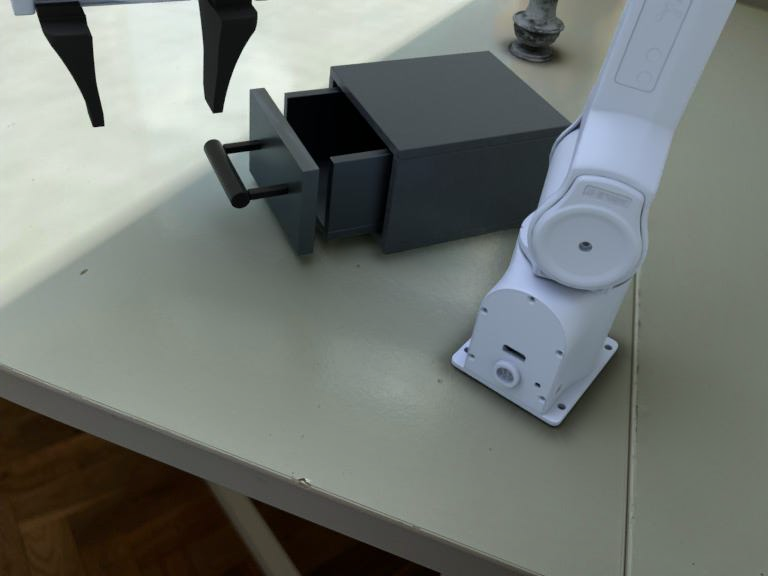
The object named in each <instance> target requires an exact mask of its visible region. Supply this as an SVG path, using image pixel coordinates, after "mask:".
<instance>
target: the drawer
mask: <svg viewBox="0 0 768 576" xmlns="http://www.w3.org/2000/svg"><path fill="white" fill-rule="evenodd" d="M283 95H284V96H283V97H284V98H283V112H282V111H281V109H279V107H278V105H277V104H276V102H275V100H274V99H273V98H272V96H271V95H270V93H269V92H268V90H267V89H266V87H256V88H249V99H248V101H249V102H248V103H249V104H248V105H249V109H248V111H249V114H248V115H249V116H248V117H249V119H248V120H249V122H248V123H249V127H248V129H249V131H248V133H249V137H248V139H249V140H244V141H235V142H229V143H223V144H222V142H221V141H220V140H219V139H216V138H213V139H212V138H211V139H209V140H207V141H206V142H205V143H204V145H203V152H204V154H205V156H206V158H207V160H208V162H209V164H210V166H211V168H212V169H213V171H214V173H215V175H216V177H217V179H218V181H219V183H220V185H221V188H222V189H223V191H224V193H225V195H226V197H227V199H228V201H229V203H230V205H231V206H232V207H233V208H235V209H237V210H239V209H244V208H246V207H247V206H248V205H249V204H250V202H251V201H255V200H260V199H261V200H262V199H264V200H265V201H266V203H267V205H268V206H269V208H270V210H271V212H272V214H273V215H274V217H275V219H276V221H277V223H278V224H279V226H280V228H281V229H282V231H283V233H284V234H285V237H286V238H287V240H288V241H289V243H290V245H291V246H292V249H293V251H294V253H295V255H296V256H297V257H303V256H308V255H313V254H314V249H315V237H316V236H315V233H316V226H317V228H318V229H319V231H320V232H321V234H322V236H323V237H324V239H325V240H326V242H330V241H335V240H341V239H347V238H351V237H357V236H363V235H368V234H370V233H373V232H378V231H383V225H384V218H385V211H386V204H387V197H388V190H389V183H390V177H391V170H392V163H393V156H394V154H393V153H392V152H391V151H390V149H389V148H388V147H387V146H386V144H385V143H384V142H383V141H382V139H381V138H380V137H379V136H378V134H377V133H376V132H375V131H374V129H373V128H372V127H371V126H370V124H369V123H368V122H367V121H366V119H365V118H364V117H363V116H362V115H361V113H360V112H359V111H358V110H357V108H356V107H355V106H354V105H353V103H352V102H351V101H350V100H349V98H348V97H347V96H346V95H345V93H344V92H343V91H342V90H341V88H340V87H332V88H329V87H325V88H323V87H322V88H315V89H306V90H297V91H288V92H284V93H283ZM246 152H248V155H249V156H248V157H249V159H248V161H249V163H248V171H249V173H250V175H251V176H252V178H253V180H254V181H255V184H256V185H257V187H253V188H248V189H247V188H246V185H245V184H244V182H243V180H242V179H241V177H240V175H239V173H238V171H237V169H236V167H235V165H234V164H233V162H232V160H231V158H230V156H229V155H231V154H240V153H246Z"/></svg>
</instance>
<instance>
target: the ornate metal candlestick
mask: <svg viewBox="0 0 768 576" xmlns="http://www.w3.org/2000/svg"><path fill="white" fill-rule="evenodd" d="M558 4H559V0H529V1H528V3H527V6H526V8H525V9H523V10H518V11H516V12H514V13H513V15H512V21H513V32H514V35H515V37H516V40H513V41H512V42H510V43H508V45H507V49H508V51H509V52H510V53H511V54H512V55H513V56H515V57H516V58H519V59H521V60H524V61H527V62H533V63H534V62H535V63H544V62H545V63H547V62H549V61H551V60H553V59H554V56H555V53H554V51H553V49H552V48H551V47H550V46H551V45H552V44H554V43H555V42H556V41H557V39H558V38H559V37H560V34H561V32H563V31H564V30H565V28H566V26H565V22H564V21H563V20H562V19H560V18H559V17H557V7H558Z"/></svg>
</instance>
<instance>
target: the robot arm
mask: <svg viewBox="0 0 768 576" xmlns="http://www.w3.org/2000/svg"><path fill="white" fill-rule="evenodd" d="M187 1H190V0H10V4H11V8H12V11H13V15H14V16H15V17H21V16H33V15H35V14H36V16H37V20H38V22H39V25H40V29H41V32H42V34H43V36H44V37H45V39H46V40H47V42H48V44H49V45H50V47H51V48H52V49H53V51H54V52H55V53H56V54H57V56H58V57H59V59H60V60H61V61H62V63H63V65H64V66H65V68H66V69H67V71H68V72H69V74H70V75H71V77H72V79H73V81H74V82H75V84H76V86H77V88H78V89H79V91H80V94H81V96H82V98H83V100H84V103H85V107H86V112H87V115H88V117H89V120H90V121H89V122H90V123H91V127H92V128H102V127H105V125H106V124H105V114H104V110H103V106H102V101H101V97H100V92H99V88H98V82H97V75H96V64H95V53H94V37H93V34H92V32H91V30H90V27H89V25H88V18H87V14H85V10H84V8H87V7H103V6H104V7H105V6H121V5H137V4H158V3H171V2H187ZM254 1H255V2H262V1H263V2H264V1H265V2H266V1H267V0H254ZM197 2H198V11H199V19H200V26H201V28H200V29H201V36H202V37H201V38H202V49H203V50H202V51H203V52H202V53H203V59H202V60H203V61H202V86H203V95H204V101H205V102H206V104H207V106H208V107H209V110H210V111H211V113H212V114H213V115H214V114H222V113H223V112H224V107H225V101H226V98H227V93H228V89H229V86H230V82H231V80H232V77H233V74H234V70H235V68H236V65H237V63H238V61H239V59H240V57H241V55H242V53H243V50H244V49H245V47H246V46H247V44H248V42H249V40H250V39H251V38H252V36H253V34H254V33H255V32H256V30H257V27H258V19H259V18H258V17H259V16H258V10H257V8H256V7H255V6H254V5H253V0H197ZM736 2H737V0H626V1H625V5H624V8H623V10H622V12H621V14H620V15H621V16H620V18H619V21H618V23H617V26H616V27H615V28H616V29H615V31H614V33H613V36H612V39H611V42H610V44H609V47H608V49H607V52H606V55H605V57H604V60H603V63H602V65H601V68H600V71H599V74H598V76H597V79H596V81H595V83H594V84H593V86H592V88H591V89H590V92H589V94H588V97H587V99H586V102H585V104H584V107H583V109H582V111H581V113H580V114H579V116H578V117H577V119H576V120H575V121H574V122H573V123H572V125H571V126H569V127H568V128H567V129H566V130H565V131H564V132H562V133H561V135H560V136H559V137H558V138H557V140H556V141H555V143H554V145H553V147H552V150H551V153H550V157H549V169H548V173H547V176H546V180H545V183H544V187H543V190H542V194H541V197H540V200H539V204H538V207H537V209H536V210H535V211H534V212H533V213H531V214H530V215H529V216H528V217H527V218H526V219H525V220H524V221H523V223H522V225H521V226H520V228H519V232H518V235H517V239H516V241H515V245H514V248H513V249H514V250H513V253H512V256H511V260H510V263H509V266H508V267H507V269H506V271H505V273H504V274H503V276H502V277H501V278H500V279H499V281H497V282H496V284H495V285H494V286H493V287H492V288H491V289H490V290H489V291H488V292H487V293H486V295H484V297H483V299H482V301H481V303H480V305H479V309H478V312H477V315H476V320H475V323H474V327H473V330H472V334H471V337H470V338H469V339H468V340H467V341H466V342H465V343H464V344H463V345H462V346H461V347H460V348H459V349H458V350H457V351H456V352H455V353H454V354H452V357H451V365H452V366H454V367H455V368H457V369H458V370H460V371H462V372H463V373H465V374H467V375H468V376H469V377H471V378H473V379H475V380H477V381H478V382H480V383H481V384H482V385H484V386H485V387H488V388H489V389H491V390H493V391H494V392H496V393H497V394H499V395H501V396H503V397H504V398H505V399H507V400H509V401H511V402H512V403H513V404H516V405H517V406H519V407H520V408H522V409H524V410H525V411H527V412H528V413H530V414H531V415H533V416H535V417H536V418H538V419H539V420H541V421H543V422H545V423H546V424H547V425H549V426H553V427H556V426H559V425H560V424H561V423H562V422H563V420H564V419H565V418H566V417H567V415H568V414H569V413H570V412H571V410H572V409H573V407H574V406H575V405H576V403H577V402H578V401H579V400H580V398H581V397H582V396H583V395H584V393H585V392H586V391H587V389H588V388H589V387H590V386H591V384H592V383H593V382H594V381H595V379H596V378H597V376H598V375H600V373H601V371H602V370H603V369H604V367H606V365H607V364H608V363H609V361H610V360H611V358H613V356H614V355H615V353H616V352H617V351H618V348H619V343H618V342H617V341H616V340H615V339H612V338H611V337H609V336H608V335H609V332H610V331H611V328H612V326H613V323H614V321H615V320H616V317H617V314H618V312H619V311H620V307H621V305H622V303H623V301H624V298H625V296H626V294H627V291H628V289H629V287H630V284H631V282H632V280H633V277H634V275H635V274H636V273H637V272H638V271H639V269H640V268H641V267H642V266H643V264H644V263H645V260H646V258H647V254H648V251H649V227H648V223H649V213H650V208H651V205H652V203H653V201H654V199H655V197H656V196H657V192H658V190H659V188H660V187H659V186H660V184H661V180H662V176H663V173H664V169H665V165H666V162H667V160H668V159H667V158H668V156H669V151H670V148H671V145H672V141H673V138H674V134H675V132H676V130H677V129H676V128H677V127H678V124H679V122H680V121H681V119H682V116H683V114H684V112H685V110H686V107H687V106H688V104H689V102H690V99H691V97H692V95H693V93H694V91H695V89H696V86H697V84H698V82H699V81H700V78H701V76H702V73H703V72H704V69H706V66H707V63H708V61H709V59H710V57H711V55H712V53H713V50H714V49H715V47H716V44H717V42H718V40H719V38H720V36H721V35H722V32H723V29H724V28H725V25H726V23H727V22H728V19H729V17H730V15H731V13H732V11H733V8H734V7H735V4H736Z"/></svg>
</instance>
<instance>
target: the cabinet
mask: <svg viewBox="0 0 768 576" xmlns="http://www.w3.org/2000/svg"><path fill="white" fill-rule="evenodd" d="M329 67H330V68H329V79H328V88H332V87H340V88H341V90H342V91H343V92H344V93H345V95H346V96H347V97H348V98H349V100H350V101H351V102H352V103H353V105H354V106H355V107H356V108H357V110H358V111H359V112H360V113H361V115H362V116H363V117H364V118H365V119H366V121H367V122H368V123H369V124H370V126H371V127H372V128H373V129H374V131H375V132H376V133H377V134H378V136H379V137H380V138H381V139H382V141H383V142H384V143H385V144H386V146H387V147H388V148H389V149H390V151H391V152H392V153H393V154H394V156H393V163H392V170H391V177H390V183H389V190H388V197H387V204H386V211H385V218H384V225H383V231H378V232H373V233H369V234H370V236H371V238H372V239H373V240H374V242H375V243H376V244H377V246H378V248H379V249H380V251H381V252H382V253H383V255H388V254H391V253H392V254H393V253H397V252H402V251H407V250H412V249H417V248H423V247H426V246H431V245H436V244H441V243H446V242H450V241H455V240H460V239H461V240H462V239H465V238H470V237H475V236H480V235H485V234H489V233H495V232H501V231H505V230H509V229H514V228H519V227H520V228H521V225H522V223H523V221H524V220H525V219H526V218H527V217H528V216H529V215H530V214H531V213H533V212H534V211H535V210H536V209H537V207H538V204H539V200H540V197H541V194H542V190H543V187H544V183H545V180H546V176H547V173H548V169H549V157H550V153H551V150H552V147H553V145H554V143H555V141H556V140H557V138H558V137H559V136H560V135H561V133H562V132H564V131H565V130H566V129H567V128H568V127H569V126H571V125H572V124H573V123H572V122H571V121H570V120H569V119H568V118H566V117H565V116H564V115H563V114H562V113H561V112H559V111H558V110H557V109H556V107H554V106H553V105H552V104H550V103H549V102H548V100H546V99H545V98H544V97H542V96H541V95H540V94H539V93H538V92H537V91H536V90H535V89H533V88H532V87H531V86H530V85H529V84H527V82H526V81H524V80H523V79H522V78H521V77H519V75H517V74H516V73H515V72H514V71H513V70H512V69H511V68H510V67H508V65H506V64H505V63H504V62H502V60H501V59H499V57H497V56H496V55H495V54H494V53H492V52H491V51H490V50H480V51H471V52H462V53H461V52H460V53H453V54H452V53H451V54H441V55H440V54H439V55H430V56H420V57H410V58H400V59H390V60H381V61H369V62H360V63H352V64H350V63H349V64H339V65H330V66H329Z"/></svg>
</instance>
